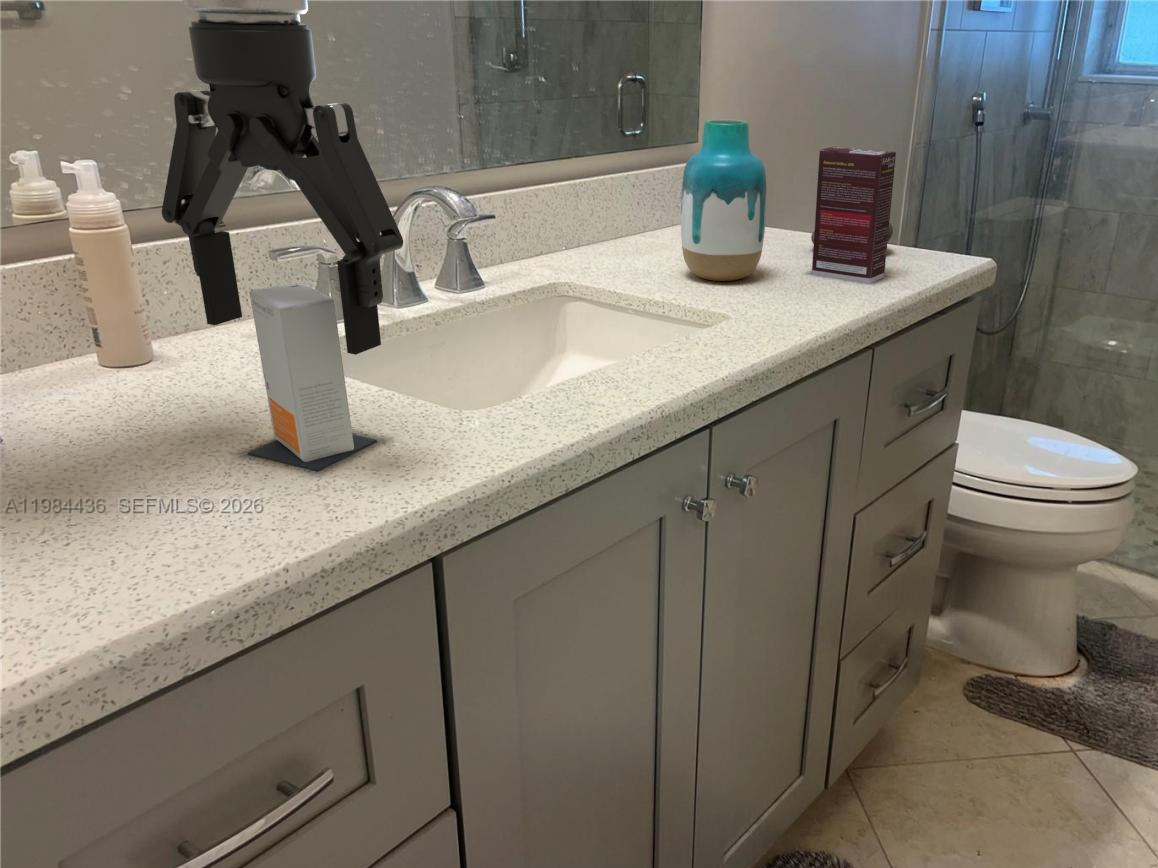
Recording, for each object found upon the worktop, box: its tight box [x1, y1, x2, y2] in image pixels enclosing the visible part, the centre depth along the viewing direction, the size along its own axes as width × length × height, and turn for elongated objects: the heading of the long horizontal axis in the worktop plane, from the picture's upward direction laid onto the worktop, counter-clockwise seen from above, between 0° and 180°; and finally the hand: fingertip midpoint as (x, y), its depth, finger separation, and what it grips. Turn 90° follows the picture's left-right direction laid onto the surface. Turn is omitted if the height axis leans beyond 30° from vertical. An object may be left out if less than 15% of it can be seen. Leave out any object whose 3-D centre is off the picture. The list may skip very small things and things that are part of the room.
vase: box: [680, 118, 767, 282], centre depth 129 cm, size 11×11×19 cm
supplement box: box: [811, 146, 897, 284], centre depth 132 cm, size 9×5×16 cm, turn 56°
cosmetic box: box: [249, 283, 354, 462], centre depth 78 cm, size 6×4×12 cm
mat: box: [247, 433, 378, 473], centre depth 81 cm, size 7×7×1 cm
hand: (292, 334), depth 77 cm, fingers open, 13 cm apart
